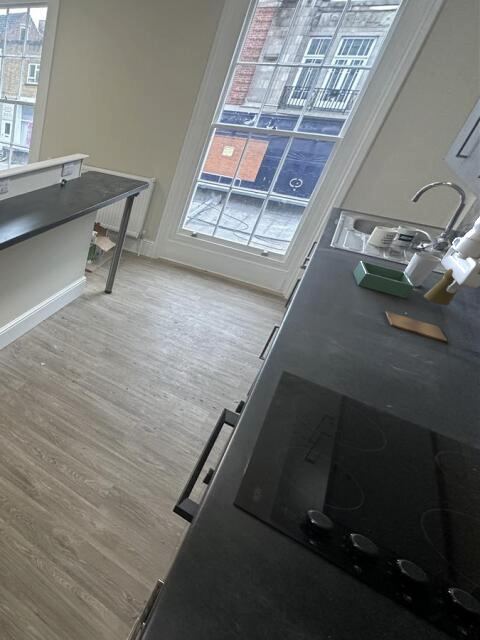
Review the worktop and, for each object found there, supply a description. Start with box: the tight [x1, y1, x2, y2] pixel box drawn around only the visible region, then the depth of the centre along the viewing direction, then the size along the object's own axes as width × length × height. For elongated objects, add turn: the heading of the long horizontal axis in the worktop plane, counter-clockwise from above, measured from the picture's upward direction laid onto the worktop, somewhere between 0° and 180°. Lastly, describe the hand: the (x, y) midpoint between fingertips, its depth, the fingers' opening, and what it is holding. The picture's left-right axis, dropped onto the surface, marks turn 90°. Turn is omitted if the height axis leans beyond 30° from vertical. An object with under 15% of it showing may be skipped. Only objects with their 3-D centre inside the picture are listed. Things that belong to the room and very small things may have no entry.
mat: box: [384, 311, 448, 343], centre depth 136 cm, size 14×10×1 cm
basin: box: [352, 260, 416, 299], centre depth 161 cm, size 15×15×6 cm
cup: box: [403, 252, 442, 287], centre depth 164 cm, size 8×8×12 cm
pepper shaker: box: [423, 269, 459, 306], centre depth 128 cm, size 6×6×11 cm
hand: (446, 288), depth 128 cm, fingers closed on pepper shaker, 4 cm apart
